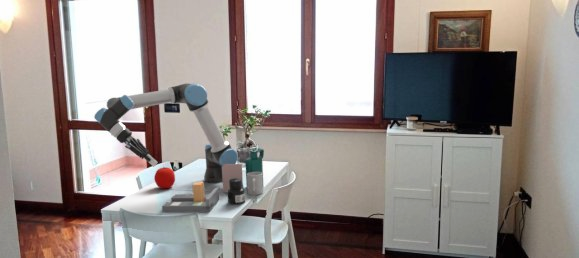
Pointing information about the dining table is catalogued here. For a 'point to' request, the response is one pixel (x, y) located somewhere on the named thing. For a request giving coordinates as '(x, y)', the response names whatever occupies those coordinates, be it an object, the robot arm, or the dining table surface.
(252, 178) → the mug
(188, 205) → the breaker housing
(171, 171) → the tomato
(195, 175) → the dining table surface
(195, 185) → the lever
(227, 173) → the greeting card
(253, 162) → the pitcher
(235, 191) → the ink bottle
